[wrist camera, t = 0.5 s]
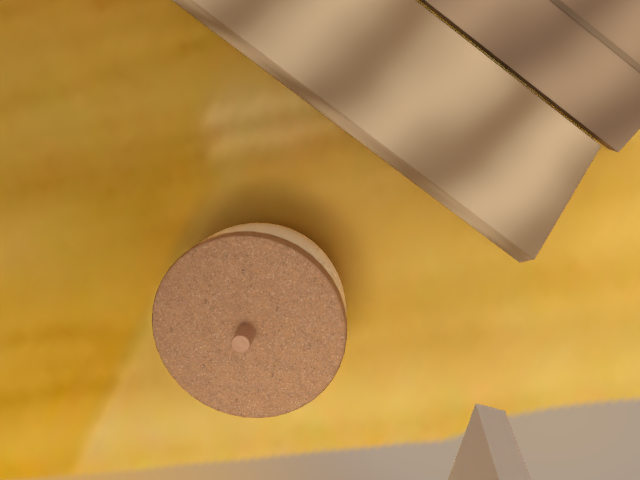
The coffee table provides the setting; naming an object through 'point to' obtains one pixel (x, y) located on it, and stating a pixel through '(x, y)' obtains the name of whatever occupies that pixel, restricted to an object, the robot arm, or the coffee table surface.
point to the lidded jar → (252, 320)
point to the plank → (420, 106)
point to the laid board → (564, 55)
